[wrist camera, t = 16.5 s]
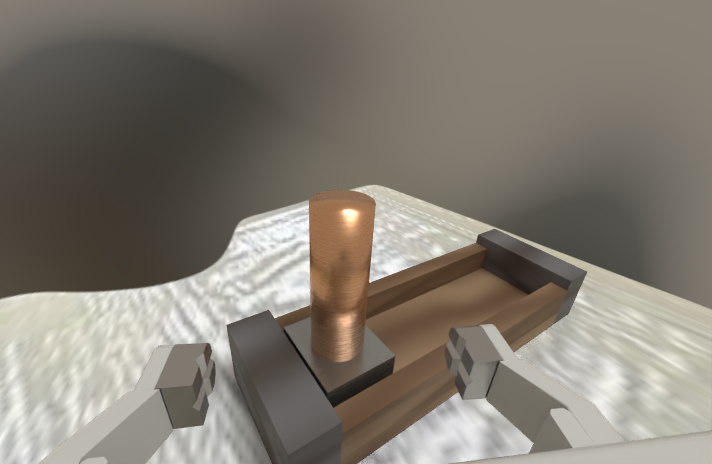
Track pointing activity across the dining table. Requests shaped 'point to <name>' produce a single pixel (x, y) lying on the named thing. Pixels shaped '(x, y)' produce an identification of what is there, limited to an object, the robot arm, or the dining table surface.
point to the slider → (340, 299)
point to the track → (398, 347)
